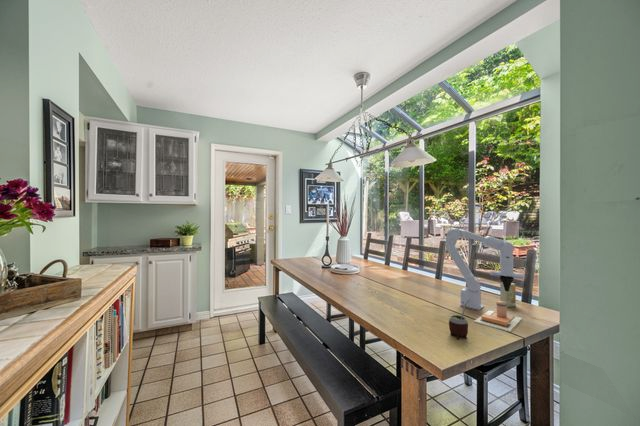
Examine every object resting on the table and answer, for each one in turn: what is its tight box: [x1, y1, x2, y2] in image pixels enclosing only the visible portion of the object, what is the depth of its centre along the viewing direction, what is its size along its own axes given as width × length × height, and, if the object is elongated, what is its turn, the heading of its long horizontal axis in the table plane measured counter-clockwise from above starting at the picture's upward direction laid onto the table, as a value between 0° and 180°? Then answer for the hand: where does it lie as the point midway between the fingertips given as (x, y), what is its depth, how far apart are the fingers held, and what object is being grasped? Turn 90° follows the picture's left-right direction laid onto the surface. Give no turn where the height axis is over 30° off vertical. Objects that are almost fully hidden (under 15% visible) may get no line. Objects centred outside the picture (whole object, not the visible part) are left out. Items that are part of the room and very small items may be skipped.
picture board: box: [474, 309, 523, 333], centre depth 125 cm, size 14×20×1 cm
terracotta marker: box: [496, 300, 508, 318], centre depth 129 cm, size 4×4×7 cm
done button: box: [480, 313, 509, 326], centre depth 122 cm, size 10×4×2 cm, turn 41°
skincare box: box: [499, 282, 517, 308], centre depth 146 cm, size 6×4×12 cm
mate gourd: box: [448, 300, 469, 340], centre depth 110 cm, size 8×8×15 cm
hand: (507, 290), depth 138 cm, fingers closed
